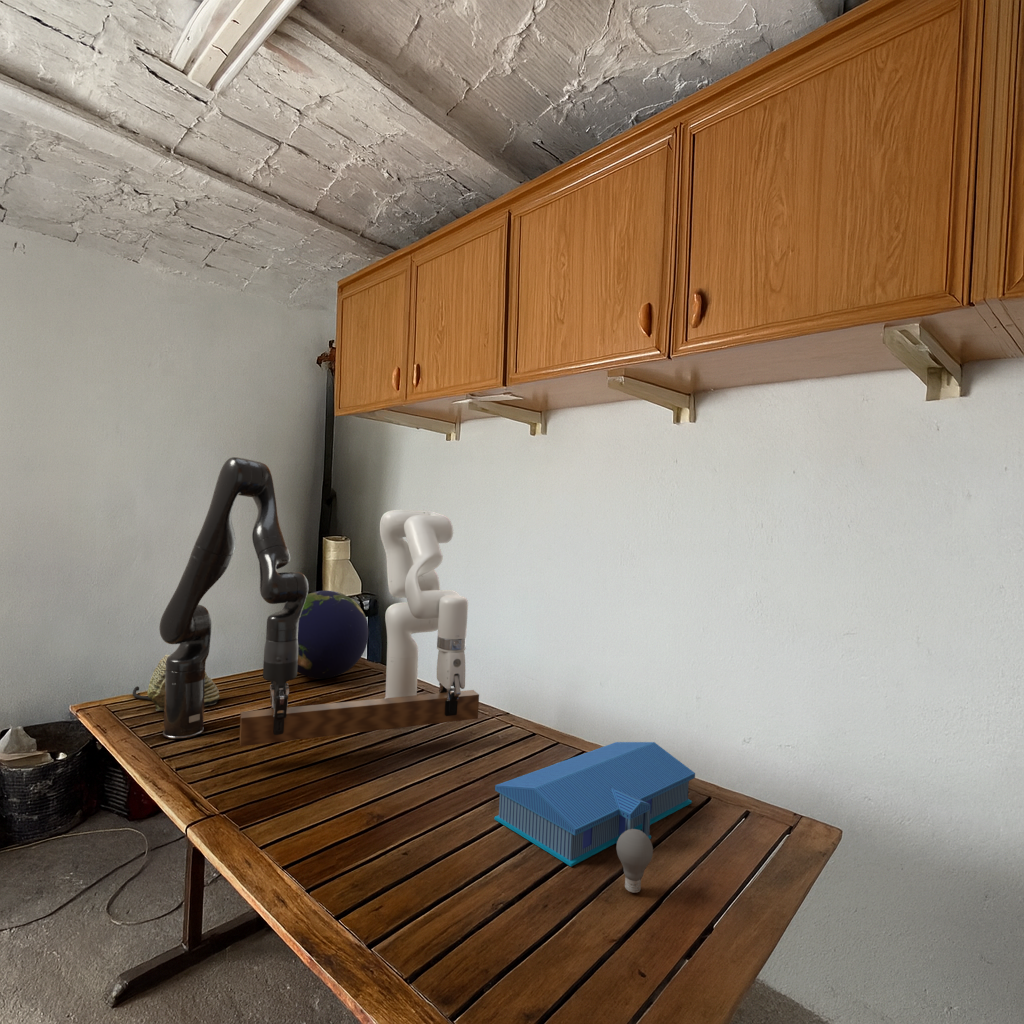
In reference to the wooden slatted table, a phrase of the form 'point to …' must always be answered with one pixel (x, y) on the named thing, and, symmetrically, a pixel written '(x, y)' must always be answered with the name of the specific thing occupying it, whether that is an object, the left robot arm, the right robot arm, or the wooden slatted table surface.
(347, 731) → the bar
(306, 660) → the globe
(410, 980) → the wooden slatted table surface
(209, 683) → the fossil
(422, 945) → the wooden slatted table surface
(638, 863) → the light bulb
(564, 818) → the model building
